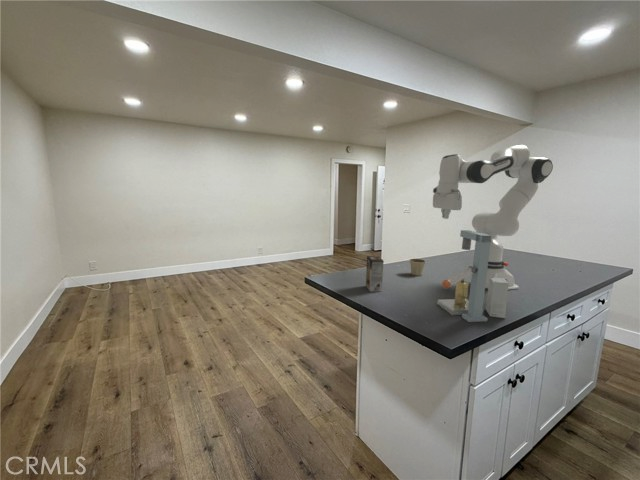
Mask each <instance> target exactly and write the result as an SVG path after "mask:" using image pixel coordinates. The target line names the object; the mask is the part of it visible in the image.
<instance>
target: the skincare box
mask: <svg viewBox="0 0 640 480" xmlns="http://www.w3.org/2000/svg"><path fill="white" fill-rule="evenodd" d="M508 284H509V283H508V282H507V281H506V280H505V279H504V278H493V277H489V284H488V289H487V299H486V307H485V308H486V309H485V310H486V312H487V314H488V315H489V317H492V318H498V319H499V318H500V319H506V315H507V303H508V291H509V290H508Z"/></svg>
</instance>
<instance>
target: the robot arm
mask: <svg viewBox="0 0 640 480" xmlns="http://www.w3.org/2000/svg"><path fill="white" fill-rule="evenodd" d="M553 165H554V164H553V162H552V160H551V159H550V158H546V157H541V156H540V157H537V156H534V157H533V156H531V151H530V149H529V148H528V147H527V146H526V145H524V144H518V145H511V146H507V147H503V148H501V149H500V148H499V149H498V150H497V151H495V152H493V153H492V154H491V156H490V158H489V160H485V159H481V160H476V161H468V162H467V161H466V160H464V159H463V158H462V157H461V156H460V154H457V153H454V154H448V155H445V156H442V159H441V161H440V164H439V171H438V174H439V175H438V176H439V180H438V183H437V184H438V185H436V187H434V188H433V189H432V193H433V196H432V207H433V208H435V209H440V211H441V218H442V219H446V220H448V219H449V217H450V214H451V212H452V211H461V209H462V206H463V198H462V197H463V196H462V193H461V192H460V190H459V185H460V184H469V183H470V184H483V183H486V182H487V181H489V180H490V178H492V177H493V176H494V175H496V174H498V173H499V174H500V173H501V172H504V173H505V176H506V177H508V178H512V179H517V181H516V183H515V184H514V185H513V186H511V188H510V189H508V191H507V192H506V193H505V194H504V195H503V197H502V198H501V199H500V200H499V202H498V206H499V210H498V211H497V212H496V213H495V212H494V213H493V212H480V213H477V214H475V215H474V216H473V218H472V220H471V225H472V227H473V229H474V230H475V232H478V233H482V234H487V235H491V243H490V251H489V259H488V268H487V276H486V284H485V289H487V290H488V284H489V277H493V278H504V279H505V280H506V281H507V282H508V283H509V284H508V291H509V290H519V289H520V287H519V285H518V284H516V283H515V277H514V275H513V274H511V273H510V271H508V270H507V269H506V268H505V267H508V266H510V264H509V262H506V261H503V253H504V246H503V244H502V243H501V242H500V239H499V237H510V236H512V237H513V236H514V235H515V234H516V233H518V231H519V228H520V222H519V220H518V217H519V215H520V213H521V212H522V211H523V210H524V208H525V207H526V206H527V205H528V204H529V203H530V201H531V200H532V199H533V197H534V196H535V194H536V193H537V191H538V188H539V184H540V183H542V182H544V181H545V180H546V179H547V178H548V177H549V176H550V175H551V173H552V171H553V168H554V166H553Z"/></svg>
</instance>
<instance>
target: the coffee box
mask: <svg viewBox="0 0 640 480" xmlns="http://www.w3.org/2000/svg"><path fill="white" fill-rule="evenodd" d="M365 272H366V273H365V287H366V288H367V289H368V291H369V292H382V290H383V276H384V259H382V258H381V257H380V256H379V255H378V256H374V255H367V256H366V271H365Z"/></svg>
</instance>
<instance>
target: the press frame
mask: <svg viewBox="0 0 640 480" xmlns="http://www.w3.org/2000/svg"><path fill="white" fill-rule="evenodd" d="M459 236H460V238H462V242H461V250H466V251H469V250H471V246H472V241H475V244H474V252H473V262H472V267H474V268H476V269H477V272H476V273H473V274H471V277H470V278H471V280H470V287H469V288H470V289H469V297H468V300H469V304H468V313H467V314H462V315H461V319H464V320H465V321H466V322H469V323H474V322H478V323H479V322H488V320H489V318H488V317H487V316H485V315H484V314H482V309H484V308H483V307H484V300H485V299H484V298H485V291H486V288H485V284H486V276H487V268H488V259H489V251H490V243H491V235H487V234H482V233H478V232H476V231H472V230H467V229H466V230H463V229H462V230H460V233H459Z"/></svg>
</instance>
